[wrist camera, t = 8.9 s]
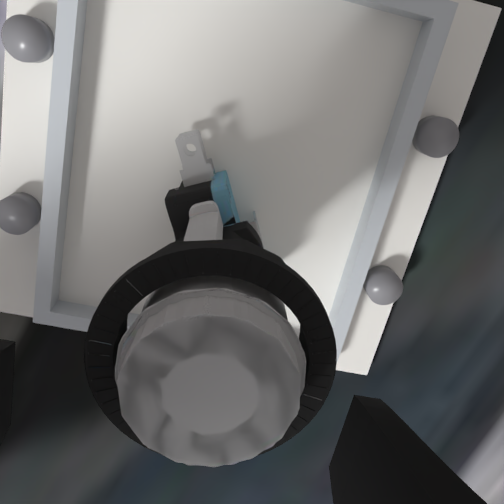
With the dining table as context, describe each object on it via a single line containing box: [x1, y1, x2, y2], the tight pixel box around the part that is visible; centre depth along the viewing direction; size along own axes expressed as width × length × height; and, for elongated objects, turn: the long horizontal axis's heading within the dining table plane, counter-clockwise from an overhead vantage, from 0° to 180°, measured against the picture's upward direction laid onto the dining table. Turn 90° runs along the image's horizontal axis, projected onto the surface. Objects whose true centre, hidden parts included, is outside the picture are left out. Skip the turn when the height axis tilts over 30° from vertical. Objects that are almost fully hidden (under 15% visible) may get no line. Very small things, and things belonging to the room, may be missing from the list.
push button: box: [84, 129, 337, 467], centre depth 14 cm, size 7×5×10 cm
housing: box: [0, 0, 502, 375], centre depth 18 cm, size 16×15×2 cm
